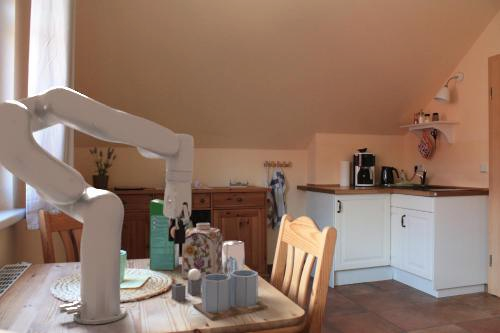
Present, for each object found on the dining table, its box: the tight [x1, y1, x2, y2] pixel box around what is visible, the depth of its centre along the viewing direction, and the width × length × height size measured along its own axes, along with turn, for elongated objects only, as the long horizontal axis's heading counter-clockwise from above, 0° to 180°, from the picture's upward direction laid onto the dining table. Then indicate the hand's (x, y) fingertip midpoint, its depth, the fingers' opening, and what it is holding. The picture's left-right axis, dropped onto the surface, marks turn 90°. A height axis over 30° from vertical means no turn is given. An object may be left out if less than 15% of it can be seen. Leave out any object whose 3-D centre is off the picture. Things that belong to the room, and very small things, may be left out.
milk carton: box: [149, 198, 180, 271], centre depth 157 cm, size 9×9×25 cm
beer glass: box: [221, 240, 245, 276], centre depth 127 cm, size 7×7×15 cm
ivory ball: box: [188, 269, 200, 281], centre depth 125 cm, size 4×4×4 cm
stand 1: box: [171, 282, 187, 302], centre depth 120 cm, size 3×3×4 cm
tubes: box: [201, 269, 259, 313], centre depth 113 cm, size 16×7×8 cm, turn 122°
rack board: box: [192, 300, 268, 321], centre depth 113 cm, size 17×11×1 cm, turn 122°
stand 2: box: [186, 279, 202, 296], centre depth 125 cm, size 3×3×4 cm
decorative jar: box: [181, 222, 224, 281], centre depth 146 cm, size 12×12×18 cm
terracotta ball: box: [171, 226, 176, 238], centre depth 120 cm, size 4×4×4 cm
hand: (176, 241), depth 119 cm, fingers closed on terracotta ball, 3 cm apart
